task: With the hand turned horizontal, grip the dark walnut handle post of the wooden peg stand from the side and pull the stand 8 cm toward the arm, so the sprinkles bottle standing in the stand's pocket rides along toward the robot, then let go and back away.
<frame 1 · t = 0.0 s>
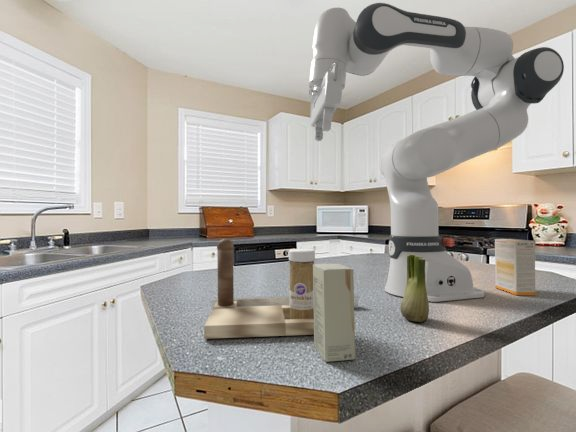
hand: (322, 135, 77), 39 cm above the counter, tool pointing down, fingers open, 8 cm apart
skincare box: (333, 353, 45), on the counter
supplement box: (514, 292, 79), on the counter
wooden peg stand: (268, 280, 57), point 8 cm above the counter, slide at 0.0 cm
fennel bulb: (414, 321, 58), on the counter
sprinkles bottle: (302, 327, 56), on the counter
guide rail: (286, 309, 66), on the counter
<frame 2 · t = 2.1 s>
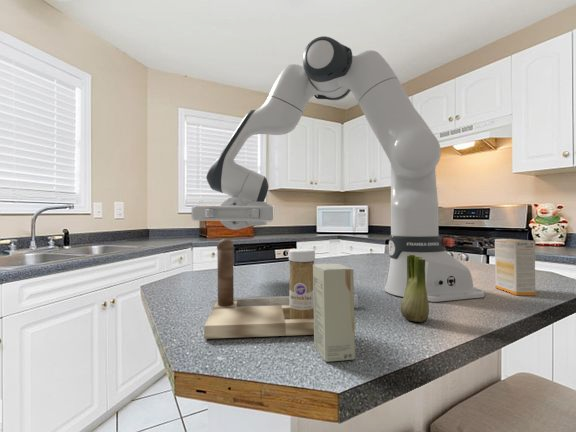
hand: (230, 213, 73), 20 cm above the counter, tool horizontal, fingers open, 8 cm apart
nothing on the counter moved.
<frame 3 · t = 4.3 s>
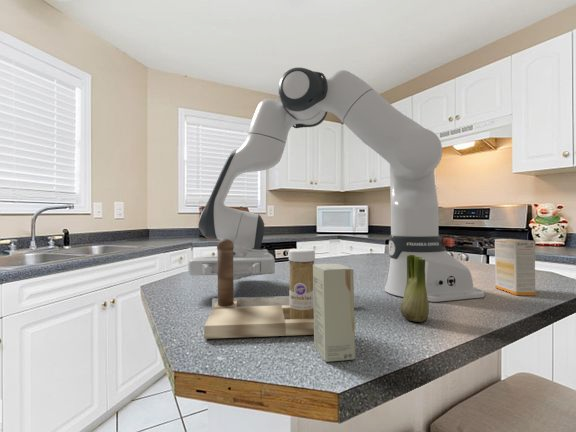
hand: (229, 270, 69), 7 cm above the counter, tool horizontal, fingers open, 8 cm apart
nothing on the counter moved.
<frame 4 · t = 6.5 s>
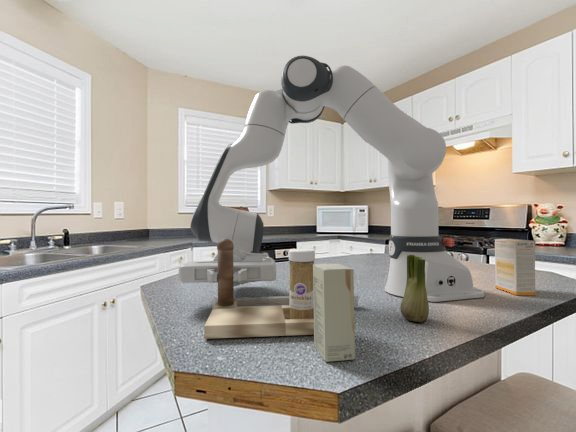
hand: (225, 278, 61), 8 cm above the counter, tool horizontal, fingers closed on wooden peg stand, 3 cm apart
wooden peg stand: (268, 280, 57), point 8 cm above the counter, slide at 0.0 cm, touching gripper
everything else where it was.
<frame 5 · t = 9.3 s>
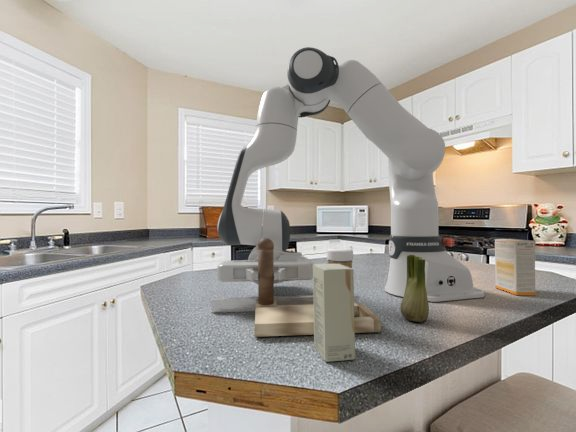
hand: (266, 277, 61), 8 cm above the counter, tool horizontal, fingers closed on wooden peg stand, 3 cm apart
wooden peg stand: (311, 279, 58), point 8 cm above the counter, slide at 7.8 cm, touching gripper, sprinkles bottle
sprinkles bottle: (340, 325, 56), on the counter, touching wooden peg stand
everything else where it was.
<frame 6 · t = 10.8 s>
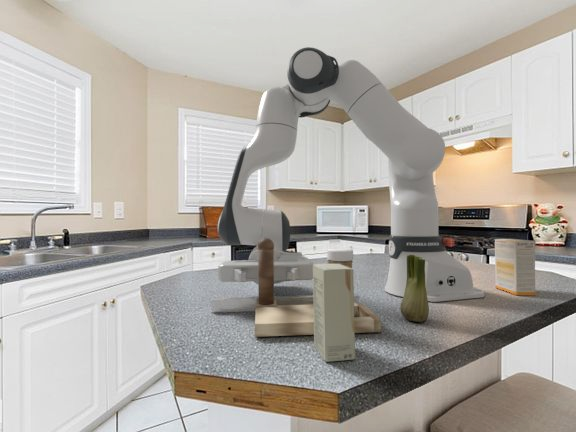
hand: (266, 277, 61), 7 cm above the counter, tool horizontal, fingers open, 8 cm apart
wooden peg stand: (311, 279, 58), point 8 cm above the counter, slide at 7.8 cm
sprinkles bottle: (340, 325, 56), on the counter
everything else where it was.
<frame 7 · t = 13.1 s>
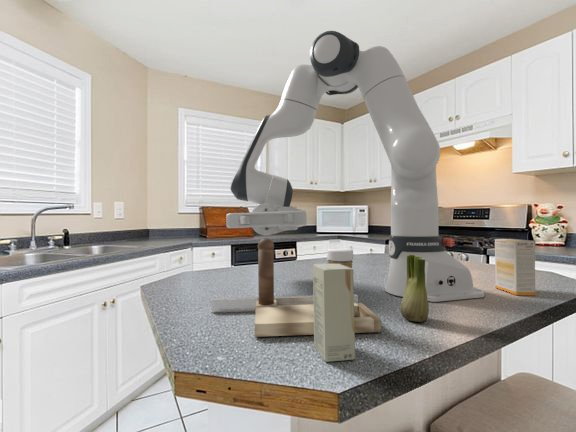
hand: (267, 219, 74), 19 cm above the counter, tool horizontal, fingers open, 8 cm apart
nothing on the counter moved.
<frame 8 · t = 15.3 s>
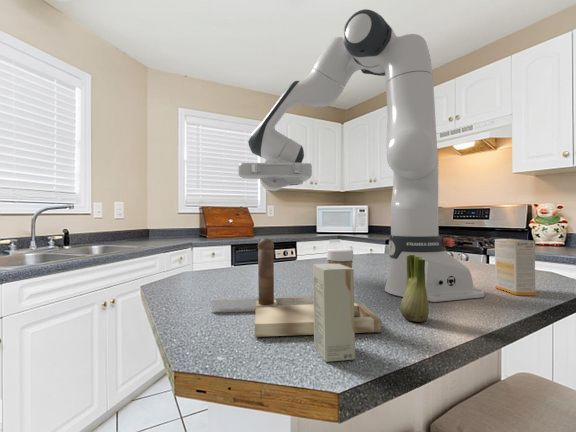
hand: (276, 166, 81), 32 cm above the counter, tool horizontal, fingers open, 8 cm apart
nothing on the counter moved.
at the end: wooden peg stand slide at 7.8 cm; sprinkles bottle inside the target area (1.0 cm from its centre), on the counter; sprinkles bottle tilted 0° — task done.
